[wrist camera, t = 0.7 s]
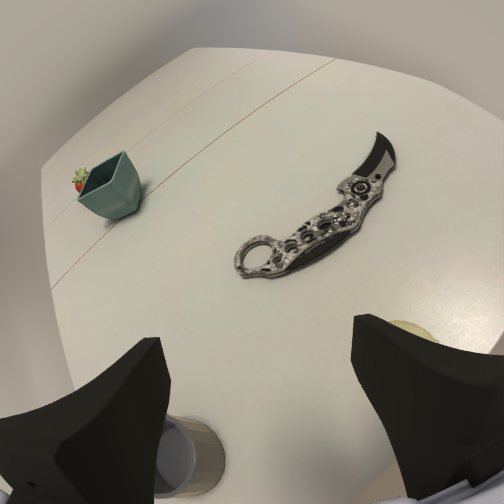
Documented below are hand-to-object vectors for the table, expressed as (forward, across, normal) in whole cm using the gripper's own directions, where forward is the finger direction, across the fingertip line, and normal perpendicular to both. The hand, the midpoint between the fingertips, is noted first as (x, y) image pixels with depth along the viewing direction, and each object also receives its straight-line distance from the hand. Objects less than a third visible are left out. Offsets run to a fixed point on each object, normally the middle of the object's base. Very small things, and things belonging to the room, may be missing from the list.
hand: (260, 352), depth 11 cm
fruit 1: (+59, +31, -3) cm, 66 cm away
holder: (+11, +8, +20) cm, 24 cm away
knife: (+28, -12, 0) cm, 30 cm away
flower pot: (+48, +20, -1) cm, 52 cm away
